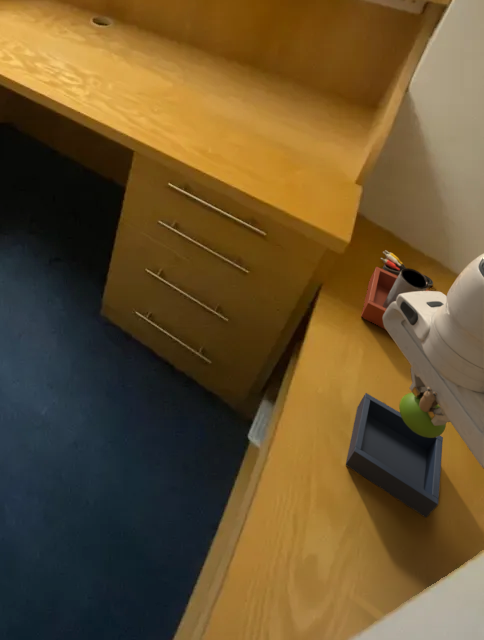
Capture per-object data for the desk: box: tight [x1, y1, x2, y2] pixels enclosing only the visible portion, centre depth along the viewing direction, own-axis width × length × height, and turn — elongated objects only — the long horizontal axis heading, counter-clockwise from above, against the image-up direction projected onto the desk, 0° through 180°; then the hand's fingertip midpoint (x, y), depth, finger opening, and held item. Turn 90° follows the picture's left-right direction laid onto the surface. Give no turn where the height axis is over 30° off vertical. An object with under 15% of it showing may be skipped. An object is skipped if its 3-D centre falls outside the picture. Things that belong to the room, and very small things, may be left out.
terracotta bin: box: [360, 266, 430, 331], centre depth 101 cm, size 11×11×5 cm
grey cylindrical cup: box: [383, 267, 429, 309], centre depth 99 cm, size 4×4×10 cm
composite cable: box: [380, 249, 434, 288], centre depth 109 cm, size 10×5×2 cm, turn 42°
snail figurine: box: [398, 387, 447, 438], centre depth 72 cm, size 5×6×12 cm
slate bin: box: [345, 392, 444, 519], centre depth 79 cm, size 11×11×5 cm
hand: (425, 406), depth 73 cm, fingers closed on snail figurine
